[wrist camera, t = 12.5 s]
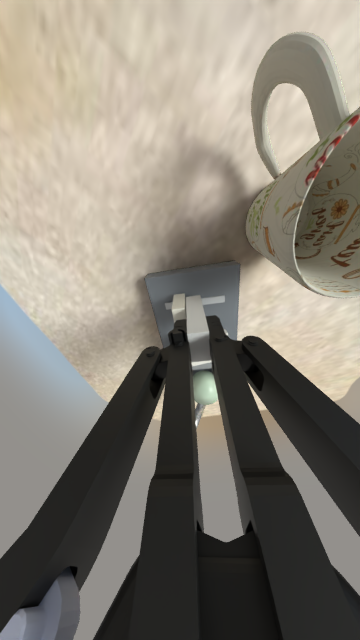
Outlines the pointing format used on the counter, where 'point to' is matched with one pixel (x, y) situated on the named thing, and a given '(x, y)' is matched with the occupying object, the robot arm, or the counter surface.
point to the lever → (199, 412)
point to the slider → (179, 307)
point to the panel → (208, 282)
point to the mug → (309, 174)
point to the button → (204, 388)
